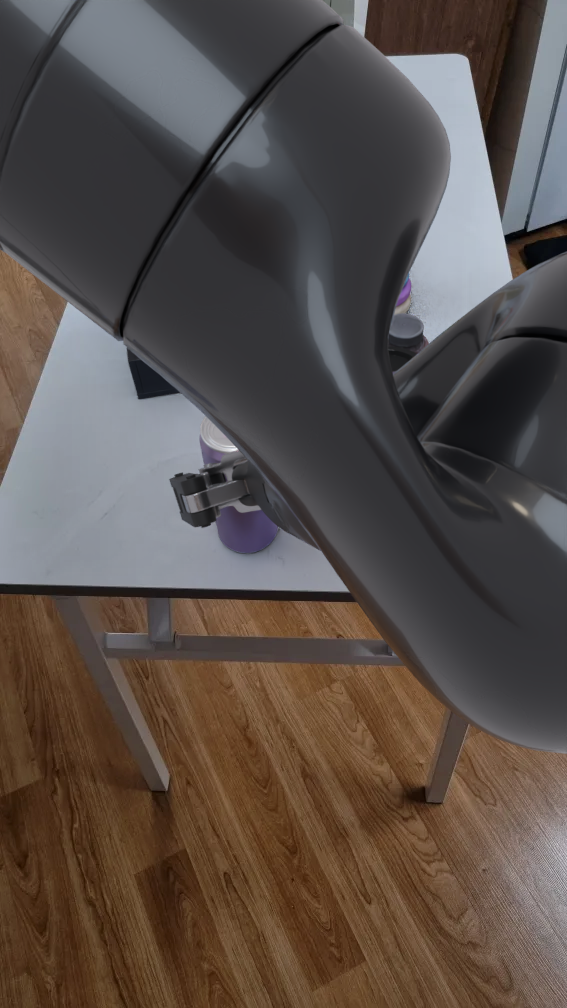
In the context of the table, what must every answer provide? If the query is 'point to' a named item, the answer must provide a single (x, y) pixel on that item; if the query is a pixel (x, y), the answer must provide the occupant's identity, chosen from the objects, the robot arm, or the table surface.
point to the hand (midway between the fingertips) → (275, 460)
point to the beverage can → (233, 526)
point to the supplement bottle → (407, 333)
